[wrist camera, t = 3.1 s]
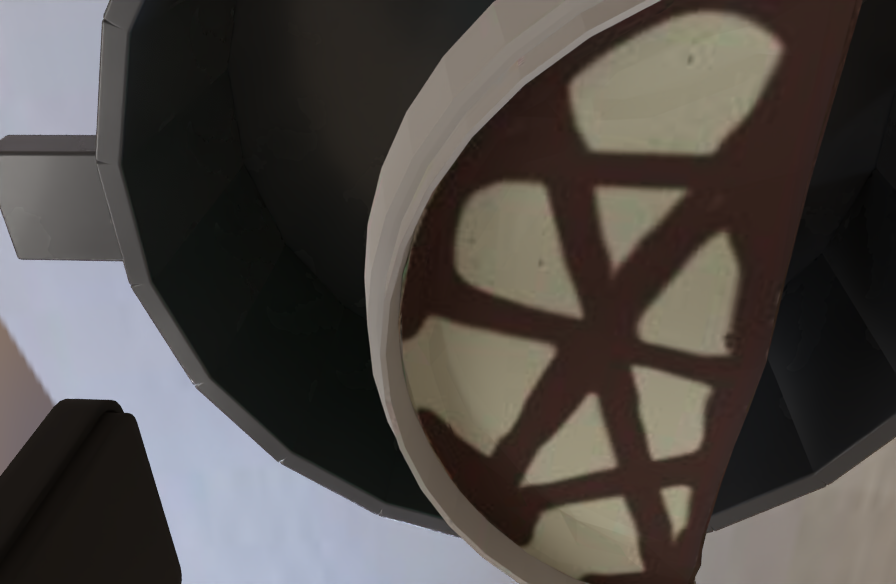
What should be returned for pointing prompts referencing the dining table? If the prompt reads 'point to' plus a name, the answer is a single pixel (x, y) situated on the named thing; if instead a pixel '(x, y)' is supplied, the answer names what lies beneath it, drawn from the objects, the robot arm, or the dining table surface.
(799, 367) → the pot
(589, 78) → the food container
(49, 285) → the dining table surface
